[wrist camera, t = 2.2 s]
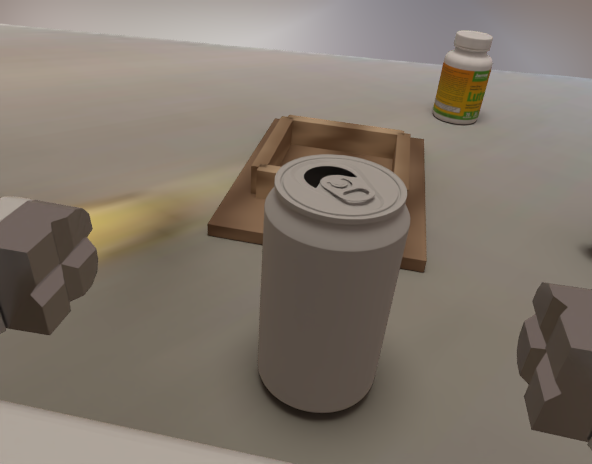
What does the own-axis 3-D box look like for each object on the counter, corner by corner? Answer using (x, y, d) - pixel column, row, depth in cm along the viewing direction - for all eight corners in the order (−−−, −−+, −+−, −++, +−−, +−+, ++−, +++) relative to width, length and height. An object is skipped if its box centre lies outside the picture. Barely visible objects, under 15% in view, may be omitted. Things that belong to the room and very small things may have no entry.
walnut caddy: (207, 235, 39) (206, 194, 37) (274, 127, 57) (276, 96, 55) (423, 272, 37) (434, 231, 35) (421, 148, 55) (428, 116, 53)
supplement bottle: (464, 129, 60) (487, 43, 55) (423, 115, 63) (441, 32, 58) (484, 118, 64) (507, 36, 59) (444, 105, 67) (463, 26, 61)
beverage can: (328, 318, 32) (353, 139, 26) (397, 391, 28) (449, 198, 21) (236, 355, 29) (238, 163, 23) (298, 444, 25) (323, 238, 18)
